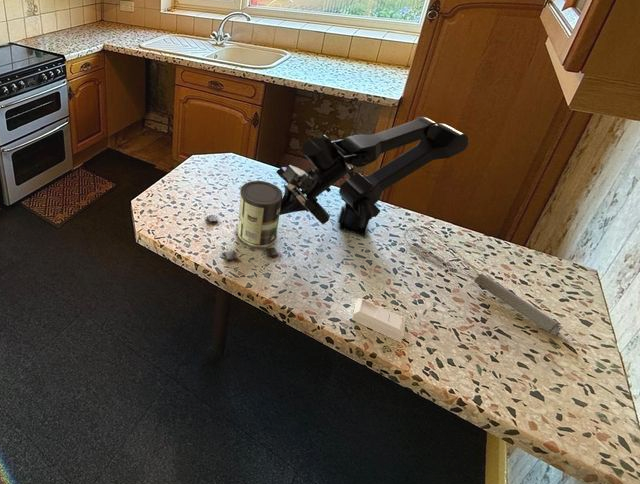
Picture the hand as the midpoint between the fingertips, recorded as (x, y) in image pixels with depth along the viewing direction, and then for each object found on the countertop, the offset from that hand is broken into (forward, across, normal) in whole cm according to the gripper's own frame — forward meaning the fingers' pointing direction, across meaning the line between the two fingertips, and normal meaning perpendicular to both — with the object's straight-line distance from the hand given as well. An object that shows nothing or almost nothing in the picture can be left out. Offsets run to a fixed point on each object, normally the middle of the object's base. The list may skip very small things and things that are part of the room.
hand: (275, 213), depth 106 cm
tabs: (+11, 0, -2) cm, 11 cm away
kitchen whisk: (-23, +22, +33) cm, 46 cm away
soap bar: (-2, +29, +12) cm, 31 cm away
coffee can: (+8, 0, +2) cm, 8 cm away
